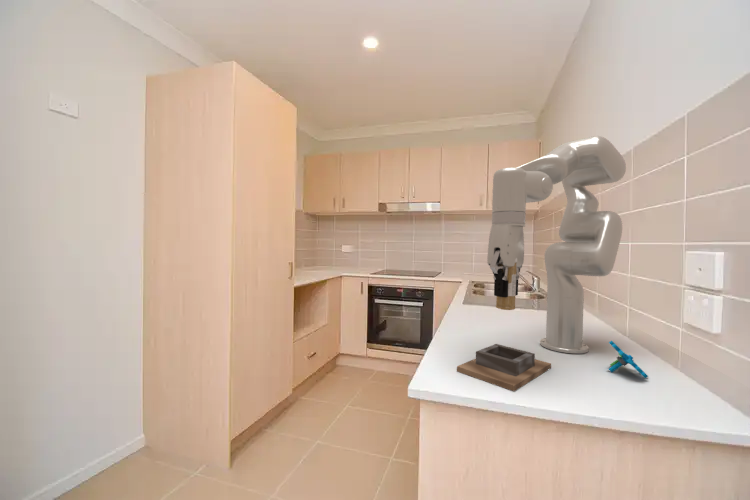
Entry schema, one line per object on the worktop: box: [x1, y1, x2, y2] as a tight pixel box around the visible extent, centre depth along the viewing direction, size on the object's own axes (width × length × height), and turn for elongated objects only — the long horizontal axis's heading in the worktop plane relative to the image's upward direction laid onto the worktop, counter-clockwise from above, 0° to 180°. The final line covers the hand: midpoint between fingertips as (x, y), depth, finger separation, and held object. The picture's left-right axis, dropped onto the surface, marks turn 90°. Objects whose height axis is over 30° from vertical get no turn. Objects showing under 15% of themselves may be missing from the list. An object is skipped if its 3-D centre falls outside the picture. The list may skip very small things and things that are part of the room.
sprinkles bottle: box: [495, 258, 517, 311], centre depth 79 cm, size 5×5×13 cm
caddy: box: [456, 343, 552, 392], centre depth 80 cm, size 20×14×4 cm
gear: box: [608, 340, 649, 379], centre depth 79 cm, size 11×6×10 cm
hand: (506, 294), depth 80 cm, fingers closed on sprinkles bottle, 4 cm apart
